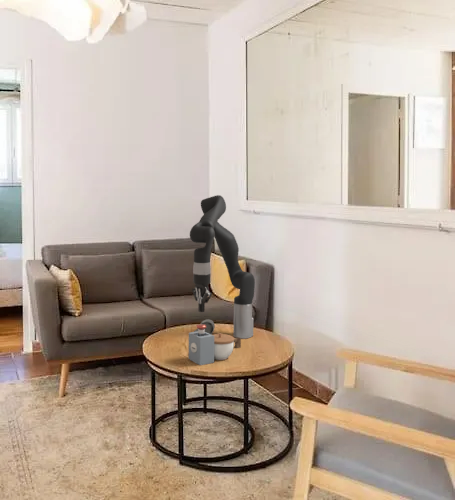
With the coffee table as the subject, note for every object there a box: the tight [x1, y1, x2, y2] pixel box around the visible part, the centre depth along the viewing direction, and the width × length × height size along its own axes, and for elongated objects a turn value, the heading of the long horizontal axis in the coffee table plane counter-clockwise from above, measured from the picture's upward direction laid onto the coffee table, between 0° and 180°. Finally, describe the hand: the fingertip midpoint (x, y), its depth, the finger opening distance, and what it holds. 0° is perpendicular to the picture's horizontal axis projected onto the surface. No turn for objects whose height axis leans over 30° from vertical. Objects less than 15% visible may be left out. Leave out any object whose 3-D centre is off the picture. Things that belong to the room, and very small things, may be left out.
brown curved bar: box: [234, 337, 242, 349], centre depth 274 cm, size 24×2×4 cm, turn 124°
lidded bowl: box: [212, 332, 235, 361], centre depth 264 cm, size 13×13×11 cm
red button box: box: [188, 331, 215, 366], centre depth 259 cm, size 8×10×12 cm
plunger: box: [196, 323, 206, 337], centre depth 258 cm, size 4×4×6 cm
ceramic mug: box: [193, 318, 216, 335], centre depth 303 cm, size 11×8×8 cm
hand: (201, 311), depth 257 cm, fingers closed
